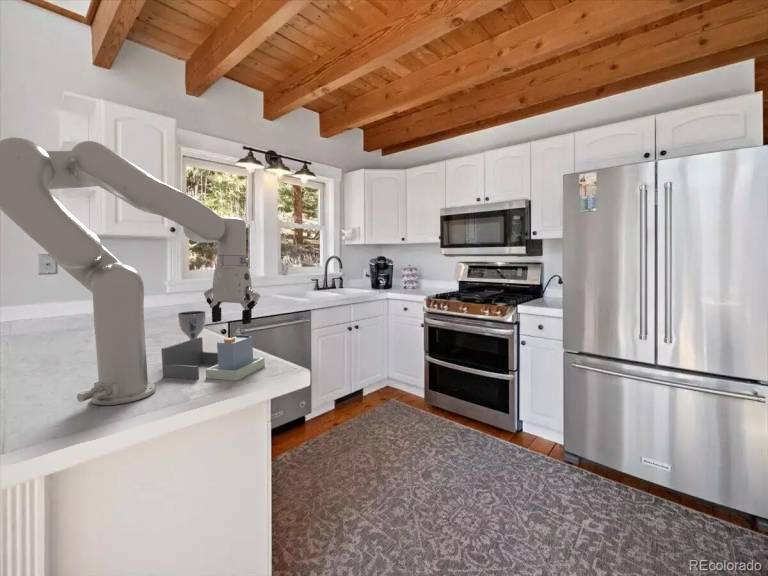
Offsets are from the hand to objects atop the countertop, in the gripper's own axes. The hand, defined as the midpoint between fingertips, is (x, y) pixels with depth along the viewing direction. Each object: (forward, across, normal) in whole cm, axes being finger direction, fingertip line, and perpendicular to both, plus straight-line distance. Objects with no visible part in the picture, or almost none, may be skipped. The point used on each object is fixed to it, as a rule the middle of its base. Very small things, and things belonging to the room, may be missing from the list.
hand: (231, 322), depth 104 cm
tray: (+14, -1, -1) cm, 14 cm away
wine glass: (+15, +23, -12) cm, 30 cm away
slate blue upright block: (+14, -1, -1) cm, 14 cm away
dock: (+15, +11, 0) cm, 18 cm away
